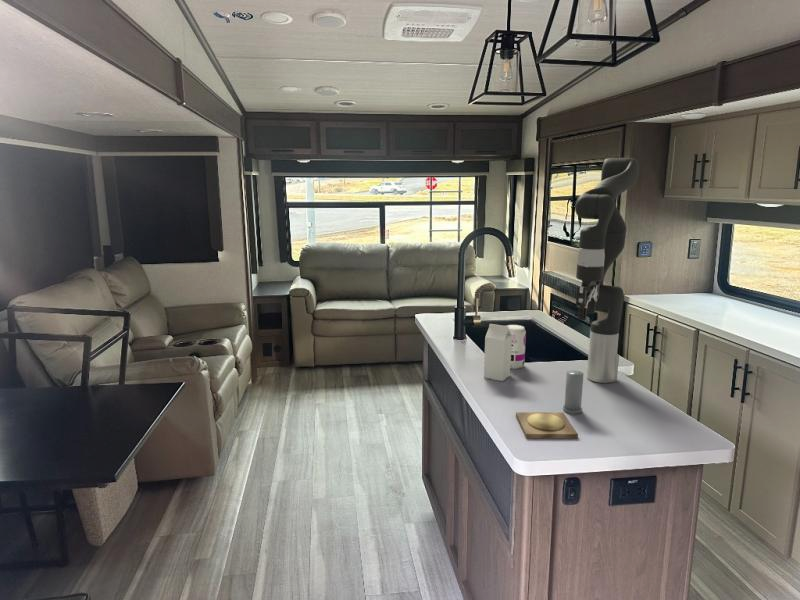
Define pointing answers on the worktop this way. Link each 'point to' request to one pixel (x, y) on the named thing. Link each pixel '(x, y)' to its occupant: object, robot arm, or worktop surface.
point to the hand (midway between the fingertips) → (586, 316)
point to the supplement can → (517, 346)
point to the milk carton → (497, 352)
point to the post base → (545, 425)
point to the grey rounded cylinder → (573, 392)
